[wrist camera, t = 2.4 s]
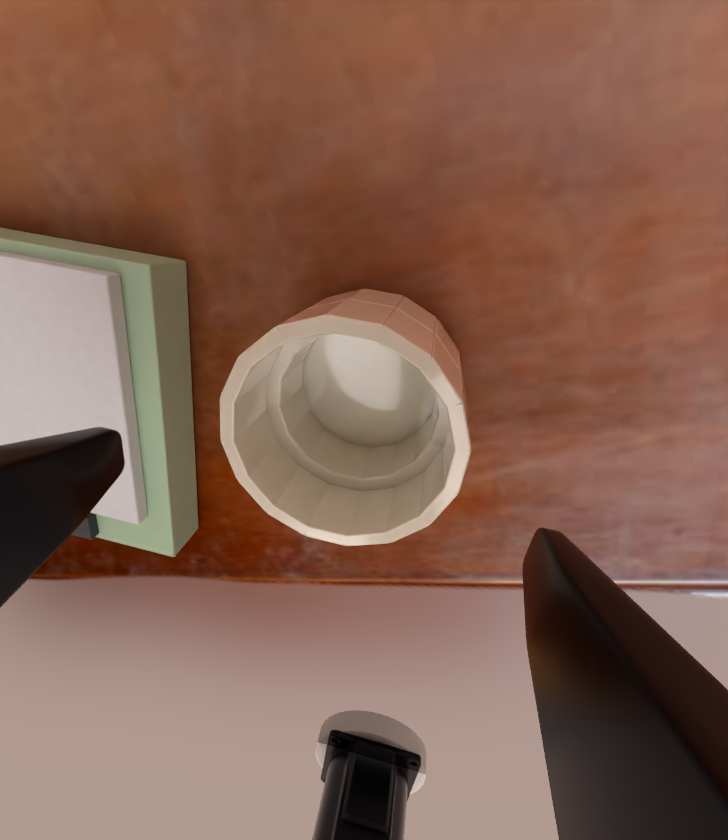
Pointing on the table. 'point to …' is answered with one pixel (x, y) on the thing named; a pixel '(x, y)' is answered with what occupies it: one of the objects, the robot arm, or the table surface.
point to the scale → (104, 374)
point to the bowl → (350, 419)
